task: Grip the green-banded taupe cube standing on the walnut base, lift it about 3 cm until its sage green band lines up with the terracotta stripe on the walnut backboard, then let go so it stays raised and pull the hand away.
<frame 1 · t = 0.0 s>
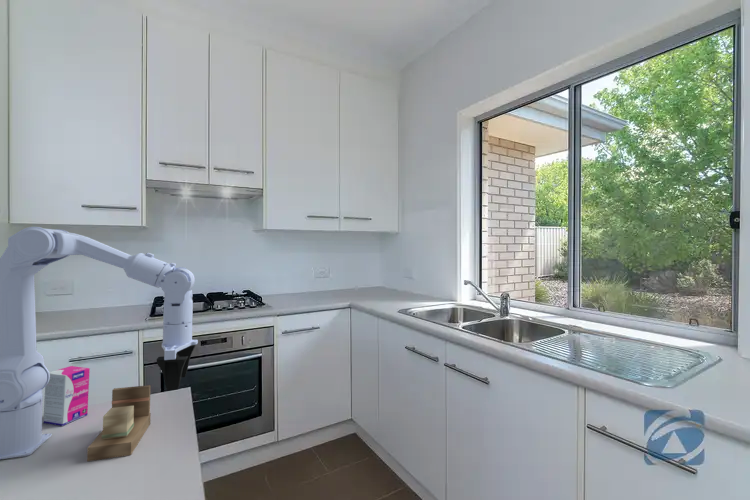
hand: (176, 383, 78), 10 cm above the countertop, tool pointing down, fingers open, 7 cm apart
green-banded taupe cube: (118, 421, 71), point 5 cm above the countertop, slide at 0.0 cm
supplement box: (66, 420, 82), on the countertop
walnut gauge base: (121, 440, 73), on the countertop
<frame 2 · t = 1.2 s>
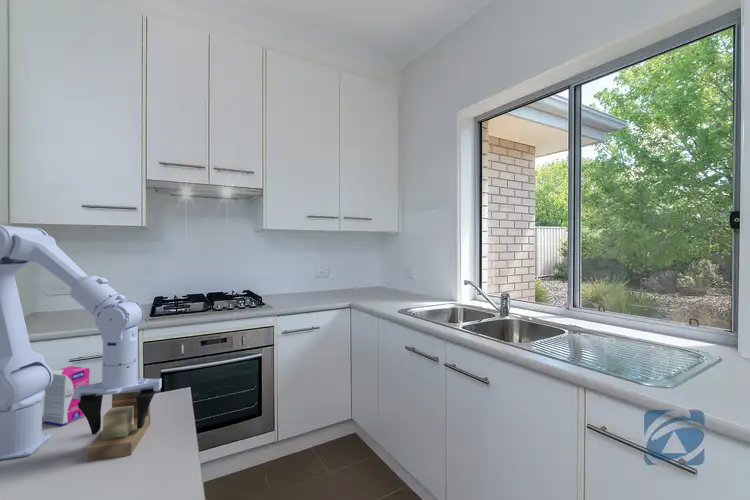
hand: (118, 429, 71), 3 cm above the countertop, tool pointing down, fingers open, 7 cm apart
nothing on the countertop moved.
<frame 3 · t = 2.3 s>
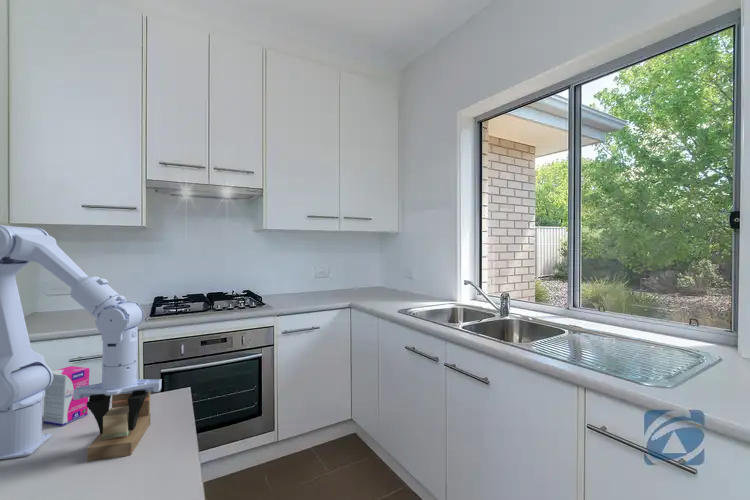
hand: (118, 429, 71), 3 cm above the countertop, tool pointing down, fingers closed on green-banded taupe cube, 4 cm apart
green-banded taupe cube: (118, 422, 71), point 5 cm above the countertop, slide at 0.0 cm, touching gripper
everything else where it was.
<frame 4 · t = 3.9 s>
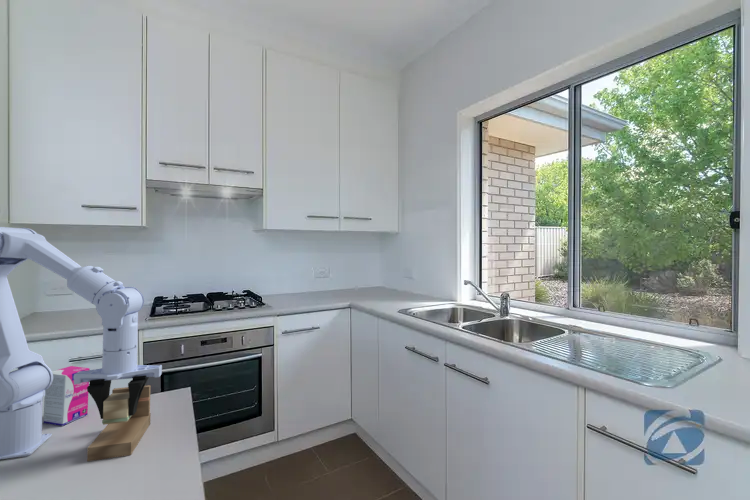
hand: (118, 415, 71), 6 cm above the countertop, tool pointing down, fingers closed on green-banded taupe cube, 4 cm apart
green-banded taupe cube: (119, 407, 71), point 8 cm above the countertop, slide at 2.9 cm, touching gripper
everything else where it was.
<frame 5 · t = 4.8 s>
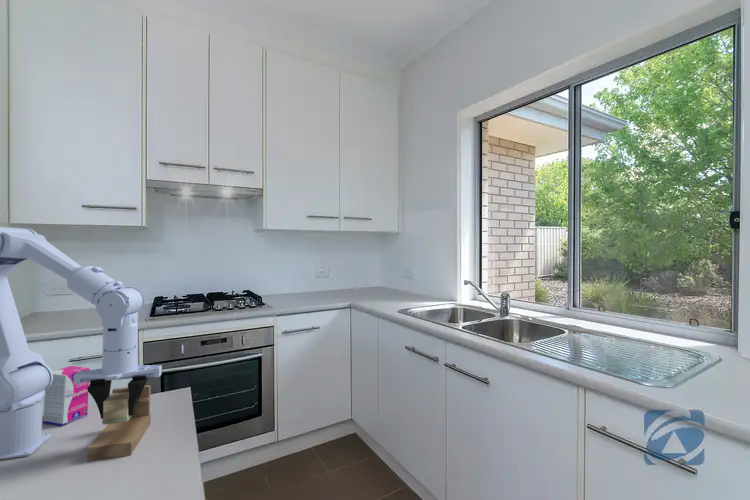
hand: (118, 415, 71), 6 cm above the countertop, tool pointing down, fingers closed on green-banded taupe cube, 4 cm apart
green-banded taupe cube: (119, 407, 71), point 8 cm above the countertop, slide at 2.9 cm, touching gripper
everything else where it was.
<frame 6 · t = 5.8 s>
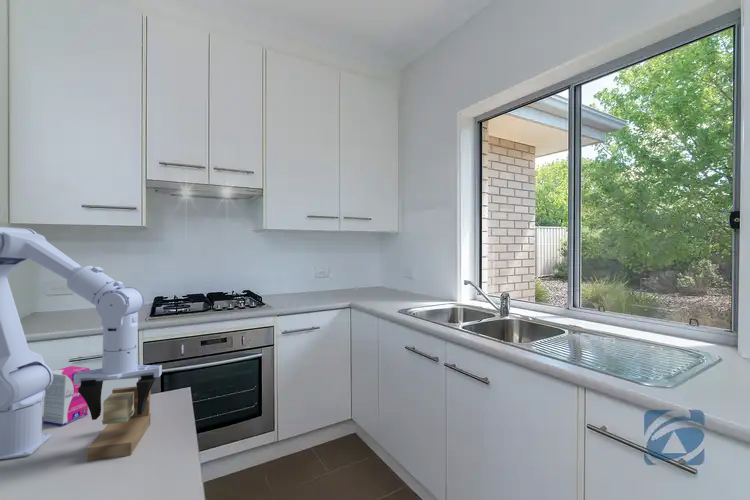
hand: (118, 415, 71), 6 cm above the countertop, tool pointing down, fingers open, 7 cm apart
green-banded taupe cube: (119, 407, 71), point 8 cm above the countertop, slide at 2.9 cm
everything else where it was.
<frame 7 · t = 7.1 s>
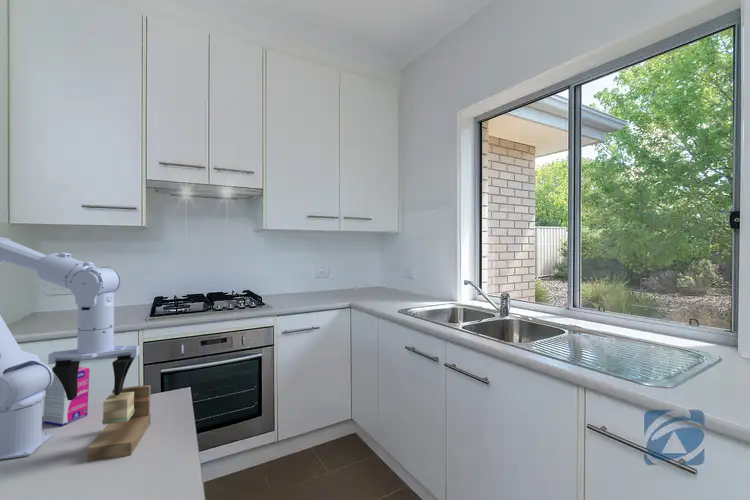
hand: (95, 395, 70), 10 cm above the countertop, tool pointing down, fingers open, 7 cm apart
nothing on the countertop moved.
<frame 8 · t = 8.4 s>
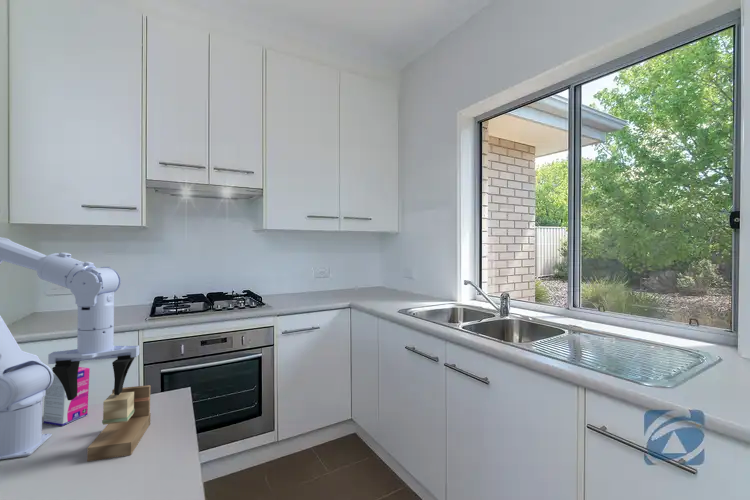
hand: (95, 395, 70), 10 cm above the countertop, tool pointing down, fingers open, 7 cm apart
nothing on the countertop moved.
at the end: green-banded taupe cube slide at 2.9 cm; the gripper is holding nothing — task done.
